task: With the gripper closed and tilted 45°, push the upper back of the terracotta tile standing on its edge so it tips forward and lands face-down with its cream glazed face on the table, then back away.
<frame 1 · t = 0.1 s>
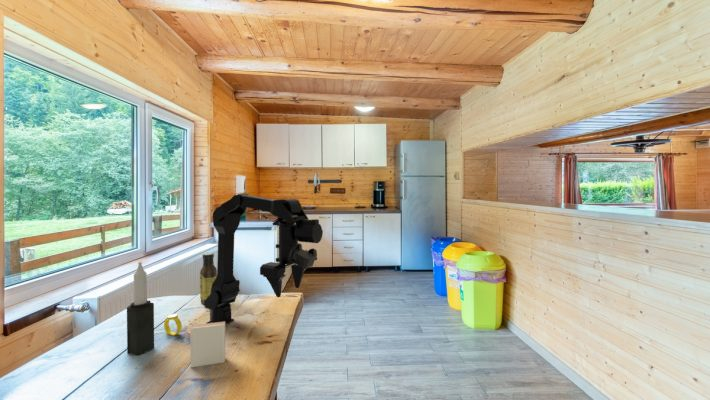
hand: (288, 292, 90), 15 cm above the table, tool pointing down, fingers open, 9 cm apart
sauce bottle: (208, 302, 121), on the table
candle: (141, 350, 84), on the table
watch: (172, 334, 93), on the table
tile: (208, 343, 78), point 5 cm above the table
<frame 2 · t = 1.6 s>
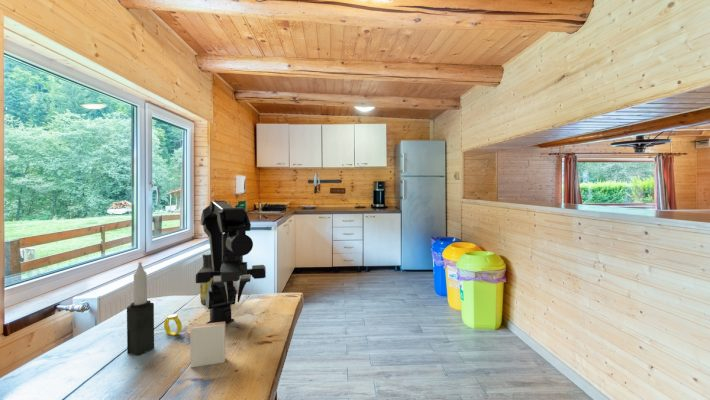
hand: (232, 302, 88), 12 cm above the table, tool pointing down, fingers open, 3 cm apart
nothing on the table moved.
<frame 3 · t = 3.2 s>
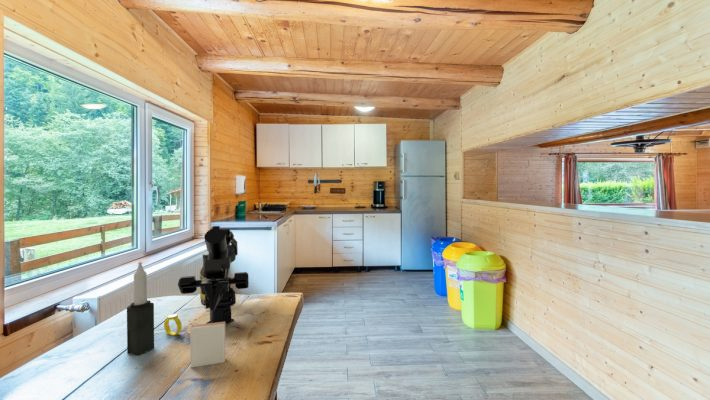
hand: (212, 310, 84), 11 cm above the table, tool tilted 45°, fingers closed
nothing on the table moved.
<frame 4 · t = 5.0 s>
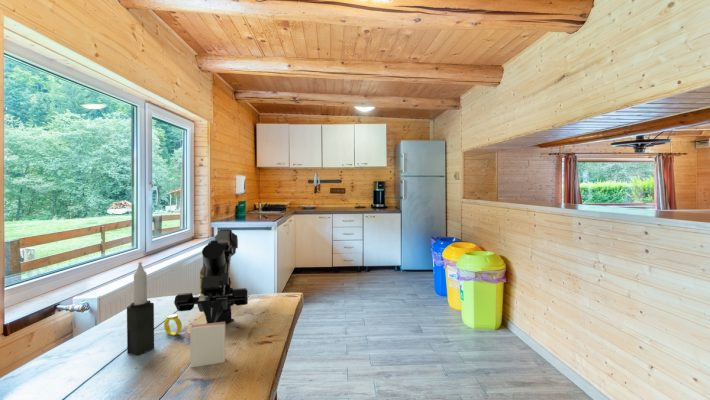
hand: (210, 329, 80), 8 cm above the table, tool tilted 45°, fingers closed
nothing on the table moved.
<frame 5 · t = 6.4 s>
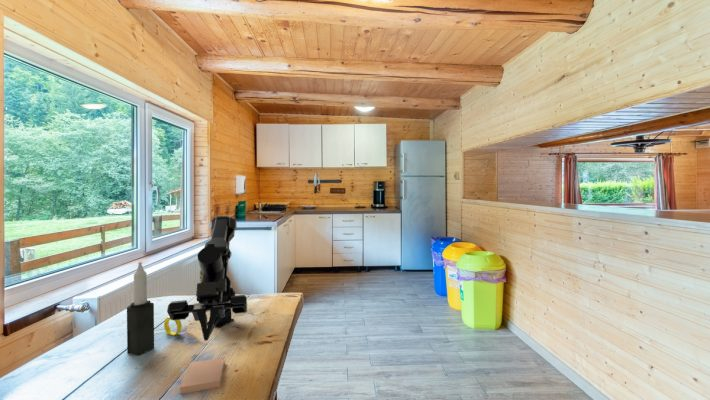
hand: (205, 340, 74), 8 cm above the table, tool tilted 45°, fingers closed
tile: (204, 375, 72), on the table, tilted 90°
everything else where it was.
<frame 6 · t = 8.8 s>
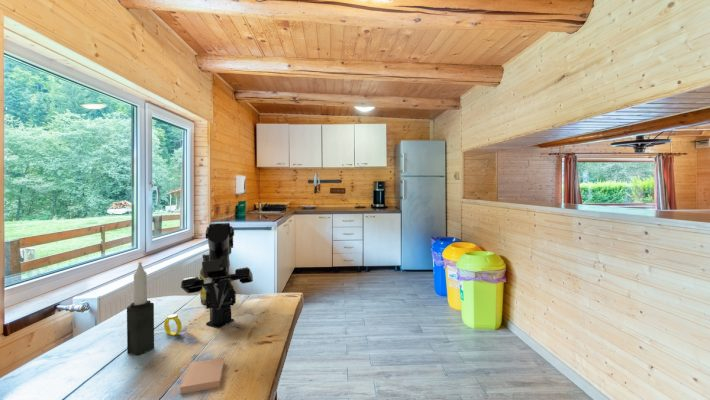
hand: (217, 309, 84), 12 cm above the table, tool tilted 40°, fingers closed
nothing on the table moved.
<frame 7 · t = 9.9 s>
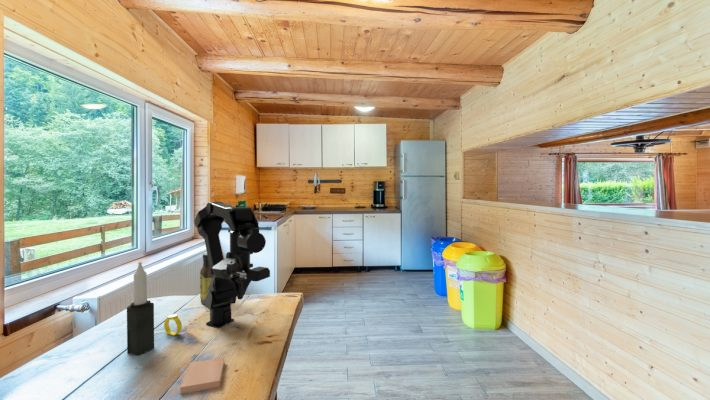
hand: (240, 299, 91), 12 cm above the table, tool pointing down, fingers closed
nothing on the table moved.
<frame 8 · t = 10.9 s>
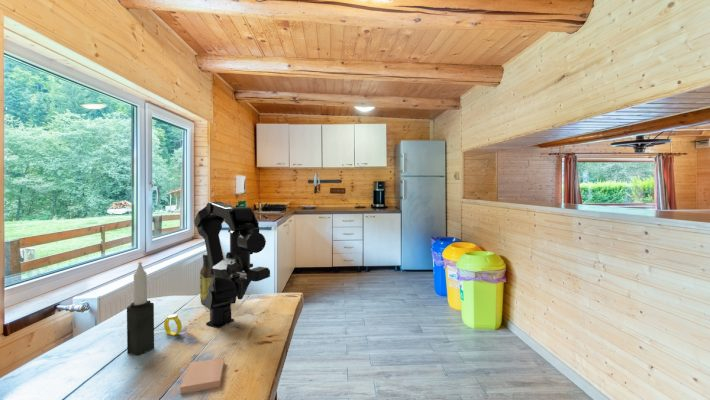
hand: (240, 299, 91), 12 cm above the table, tool pointing down, fingers closed
nothing on the table moved.
at the end: tile tilted 90°; tile 0.3 cm from the target spot, point 0.5 cm above the table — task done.
